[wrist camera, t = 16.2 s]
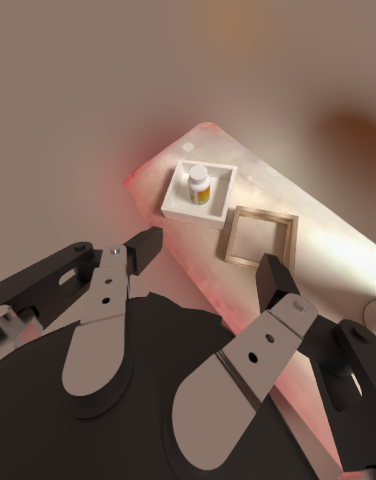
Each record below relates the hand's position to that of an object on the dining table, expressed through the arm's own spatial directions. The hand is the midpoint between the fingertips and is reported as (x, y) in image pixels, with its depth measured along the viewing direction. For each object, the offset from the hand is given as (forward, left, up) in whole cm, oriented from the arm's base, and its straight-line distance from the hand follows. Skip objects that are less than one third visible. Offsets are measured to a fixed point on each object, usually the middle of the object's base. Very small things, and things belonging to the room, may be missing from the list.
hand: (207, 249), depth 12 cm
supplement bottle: (+7, -20, -24) cm, 32 cm away
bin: (+7, -20, -25) cm, 33 cm away
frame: (-10, -11, -25) cm, 29 cm away
